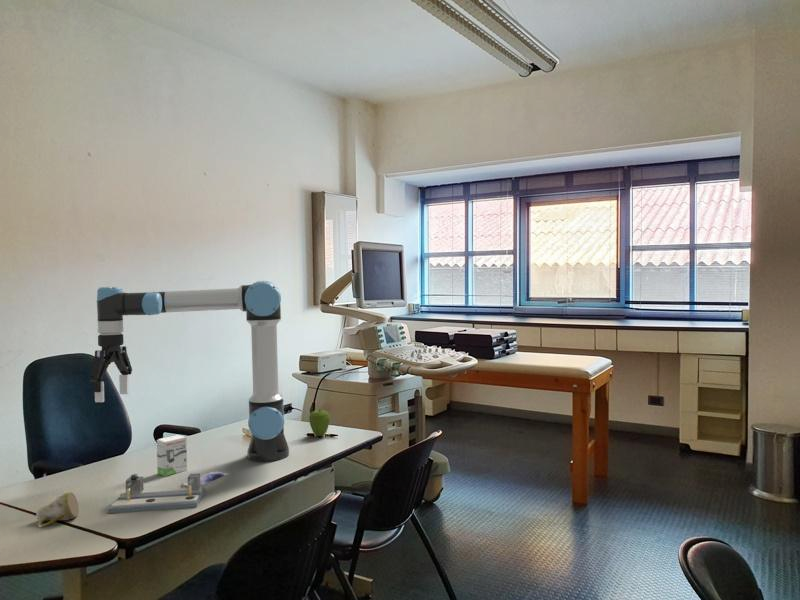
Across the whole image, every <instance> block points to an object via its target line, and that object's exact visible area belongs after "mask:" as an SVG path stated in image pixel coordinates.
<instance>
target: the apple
mask: <svg viewBox="0 0 800 600" xmlns="http://www.w3.org/2000/svg"><path fill="white" fill-rule="evenodd" d="M309 414H310V415H309V418H308V419H309V420H308V421H309V426H310V428H311V431H312V433H313V434H314V435H315V436H316V437H318V436H322V437H324V436H325V435H326V433H327V431H328V429H329V425H330V420H331V419H330V418H331V416H330V414H329V412H328V411H327V410H324V409H316V410H313V411H312V412H311V413H309ZM323 435H324V436H323Z"/></svg>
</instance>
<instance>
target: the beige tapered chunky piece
mask: <svg viewBox="0 0 800 600" xmlns="http://www.w3.org/2000/svg"><path fill="white" fill-rule="evenodd" d="M79 506H80V505H79V502H78V499H77V497H76V495H75V494H74V493H73V492H72V491H71V492H65V493H63V494H61V495H59V496H58V497H57V498H55V500H53V501H51V503H48V504H47V505H45V506H43V507H39V508H38V510H37V511H36V515H35V517H36V519H37V521H38V523H37V525H38V526H41V527H40V528H45V527H44V526H46V527H49V526H51V525H52V524H54V523H55V522H57V521H68V520H69V519H70V520H72V519H74V518H76V517H79V516H78V515H79V513H80V511H79V510H80V508H79ZM45 521H46V522H45ZM38 526H37V527H38Z"/></svg>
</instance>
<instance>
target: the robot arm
mask: <svg viewBox="0 0 800 600" xmlns="http://www.w3.org/2000/svg"><path fill="white" fill-rule="evenodd" d="M96 292H97V295H96V309H97V311H96V313H97V314H96V315H97V333H98V334H99V335H97V345H98V346H99V347H101V350H100V349H97V350H95V351H94V359H93V362H92V365H91V366H92V367H91V369H90V374H89V377H88V381H89V382H91V383H93V388H94V389H93V391H94V402H95V403H104V402H105V382H104V381H103V379H104V377H105V375H106V372H107V370H108V367H109V365H111V364H112V363H113V364H114V365H115V367H116V368H117V369H118V371H119V373H120V375H118V378H119V379H118V381H119V395H129V375H131V374H132V372H133V367H132V365H131V361H130V358H129V355H128V351H127V350H128V349H127V346H123V345H124V341H125V340H124V334H123V333H124V316H154V315H156V316H157V315H159V314H163V313H165V314H166V313H183V312H184V313H185V312H187V313H188V312H204V311H222V310H223V311H225V310H226V311H227V310H240V311H241V312H245V313H246V314H245V315H246V319H245V320H246V322H247V323H248V324H249V325H250V327H251V328H250V330H251V336H250V337H251V365H252V367H251V368H252V369H251V370H252V372H251V373H252V396H250V397H249V399H248V422H247V425H248V429H249V432H250V433H251V437H250V441H249V445H248V448H247V456H246V457H247V460H250V461H255V462H271V461H273V462H274V461H278V460H283V459H285V458H287V457H289V456H290V448H289V447H290V446H289V444H288V442H287V439H286V436H285V433H284V432H285V431H284V430H285V428H284V427H285V426H284V425H285V418H284V402H285V401H284V396H283V394H282V393H279V371H278V370H279V369H278V365H279V363H278V362H279V361H278V331H277V329H278V328H277V325H278V323H280V321H282V314H281V313H282V311H281V310H282V308H281V302H282V296H281V292H280V290H279V288H278V287H277V286H276V285H275V284H274V283H273V282H271V281H268V280H260V281H259V280H258V281H256V282H253V283H251V284H247V285H246V284H245V285H243V284H241V285H240V286H239V287H237V288H219V289H218V288H217V289H216V288H214V289H196V290H195V289H194V290H191V289H190V290H175V291H174V290H172V291H148V292H146V291H145V292H124V291H123V288H122V287H121V286H108V287H107V286H105V287H104V286H102V287H98V288H97V291H96Z"/></svg>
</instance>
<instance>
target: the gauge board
mask: <svg viewBox="0 0 800 600" xmlns="http://www.w3.org/2000/svg"><path fill="white" fill-rule="evenodd" d="M200 476H201V473H189V475H188V476H187V482H188V488H186V487H181V488H169V489H168V488H166V489H151V490H143V491H142V492H141V493H138V494H130V501H127V494H126V491H121V492H120V493H119V497H117V499H116V500H115V501H114V502H113V503H112V504H110V506H109V507H108V508H107V513H108V514H115V513H117V514H118V513H128V512H130V513H131V512H144V511H146V512H147V511H159V510H160V511H161V510H174V509H176V510H177V509H188V508H189V509H190V508H197V507H198V505H199V504H200V502H201V500H202V499H203V497H204V495H205V494H206V492H207V490H206V486H203V487H200V486H201V485H200Z"/></svg>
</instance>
